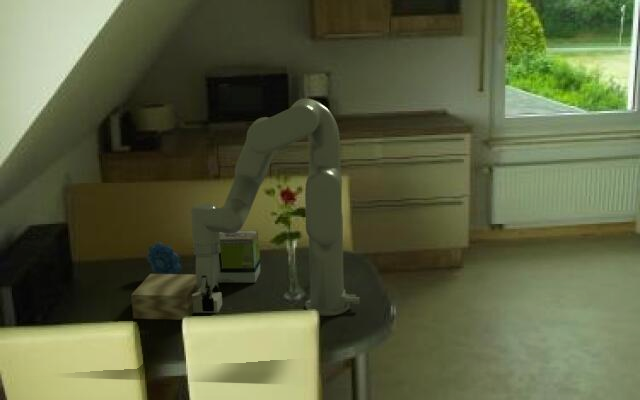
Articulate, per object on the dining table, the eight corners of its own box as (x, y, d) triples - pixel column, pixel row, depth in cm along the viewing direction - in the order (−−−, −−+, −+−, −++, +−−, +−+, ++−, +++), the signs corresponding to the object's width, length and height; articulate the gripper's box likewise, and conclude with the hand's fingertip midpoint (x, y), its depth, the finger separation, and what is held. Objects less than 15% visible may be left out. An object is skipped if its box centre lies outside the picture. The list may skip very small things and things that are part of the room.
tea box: (261, 272, 231) (258, 229, 227) (255, 283, 221) (252, 239, 217) (216, 271, 233) (213, 229, 229) (208, 283, 223) (205, 239, 219)
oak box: (203, 296, 212) (202, 274, 210) (188, 319, 197) (186, 295, 195) (152, 296, 214) (150, 273, 212) (133, 318, 199) (131, 294, 197)
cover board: (222, 304, 207) (221, 292, 206) (217, 313, 201) (216, 300, 200) (169, 304, 208) (167, 291, 207) (163, 313, 203) (161, 300, 201)
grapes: (142, 281, 226) (139, 246, 223) (152, 273, 232) (149, 239, 229) (176, 283, 223) (172, 248, 220) (185, 276, 229) (182, 241, 226)
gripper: (202, 237, 208) (206, 294, 213) (185, 257, 191) (190, 318, 196) (227, 237, 207) (231, 294, 212) (212, 257, 191) (216, 319, 195)
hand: (211, 305), depth 204 cm, fingers closed on cover board, 6 cm apart
